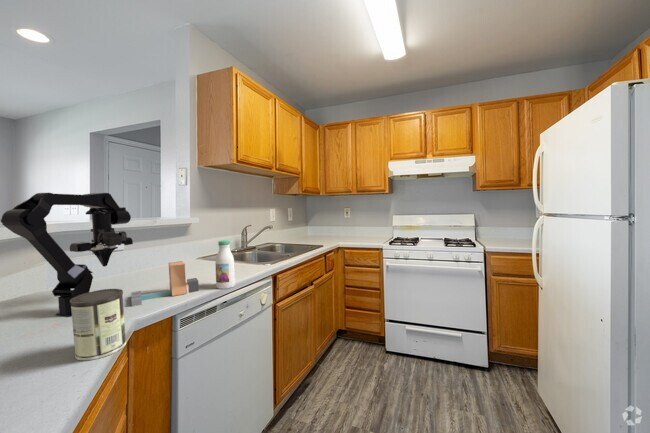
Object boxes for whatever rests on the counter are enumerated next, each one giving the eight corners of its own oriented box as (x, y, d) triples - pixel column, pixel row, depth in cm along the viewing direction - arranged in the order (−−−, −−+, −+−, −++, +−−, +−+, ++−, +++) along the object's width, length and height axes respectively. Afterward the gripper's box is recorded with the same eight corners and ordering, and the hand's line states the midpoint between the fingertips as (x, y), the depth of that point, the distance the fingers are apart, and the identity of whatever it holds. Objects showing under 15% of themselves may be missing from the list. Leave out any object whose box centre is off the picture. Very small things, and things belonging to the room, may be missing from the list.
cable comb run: (131, 306, 100) (131, 294, 99) (131, 297, 110) (131, 286, 109) (200, 293, 113) (200, 282, 112) (195, 285, 123) (194, 276, 122)
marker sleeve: (172, 296, 109) (170, 265, 108) (170, 291, 115) (168, 262, 114) (186, 293, 112) (184, 264, 111) (183, 289, 118) (182, 261, 117)
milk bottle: (227, 283, 126) (225, 239, 125) (239, 285, 122) (237, 240, 121) (212, 287, 119) (210, 241, 118) (224, 290, 115) (222, 242, 114)
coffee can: (96, 340, 75) (92, 289, 75) (135, 338, 76) (132, 287, 75) (62, 362, 65) (57, 303, 64) (107, 360, 65) (103, 301, 65)
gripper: (85, 228, 94) (88, 274, 95) (140, 224, 111) (142, 262, 112) (67, 228, 99) (70, 271, 100) (123, 223, 116) (125, 260, 117)
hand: (104, 266), depth 107 cm, fingers closed
